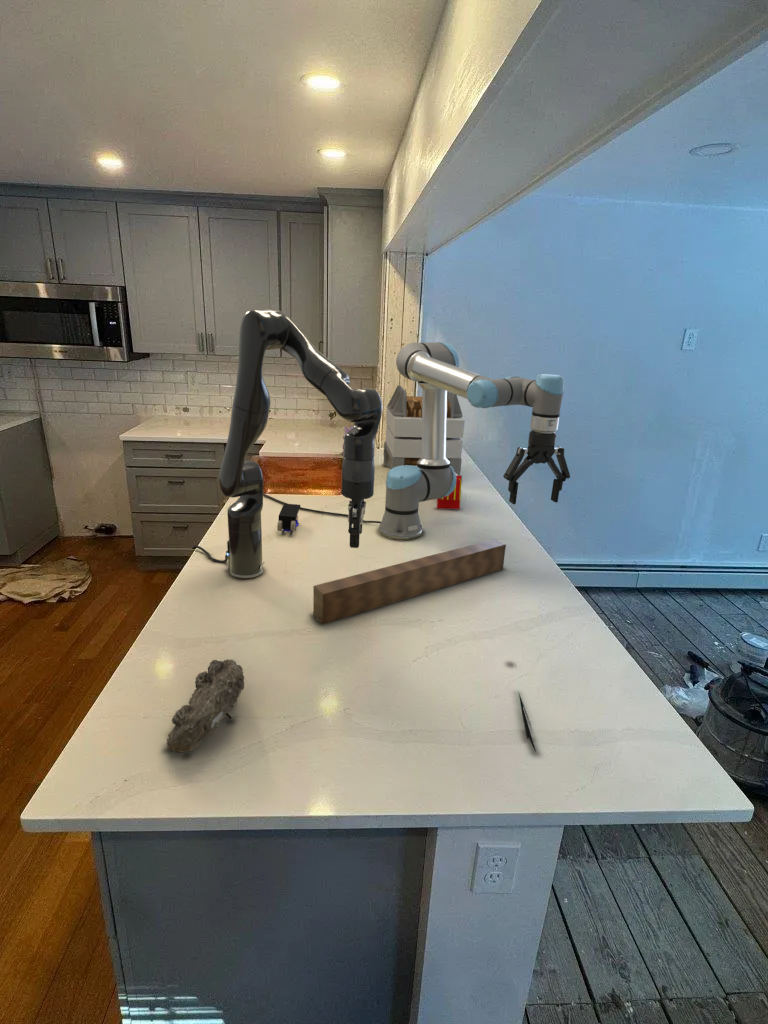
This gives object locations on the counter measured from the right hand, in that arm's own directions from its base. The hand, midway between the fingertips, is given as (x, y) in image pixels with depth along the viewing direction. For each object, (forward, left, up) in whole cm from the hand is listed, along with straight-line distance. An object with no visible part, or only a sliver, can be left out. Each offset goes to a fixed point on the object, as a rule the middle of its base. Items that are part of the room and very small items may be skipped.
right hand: (533, 502), depth 167 cm
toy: (-64, +31, -23) cm, 75 cm away
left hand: (-9, -59, -1) cm, 60 cm away
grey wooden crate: (-98, +50, -23) cm, 112 cm away
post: (-11, -35, -23) cm, 43 cm away
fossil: (+4, -103, -23) cm, 106 cm away
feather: (+38, -53, -23) cm, 69 cm away
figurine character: (-70, -41, -23) cm, 84 cm away
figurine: (-145, +43, -23) cm, 153 cm away
